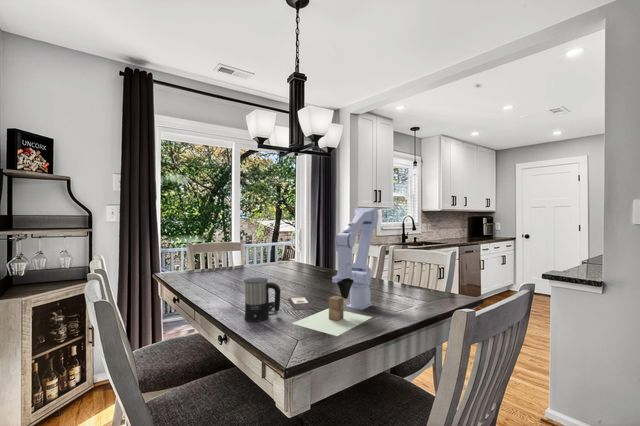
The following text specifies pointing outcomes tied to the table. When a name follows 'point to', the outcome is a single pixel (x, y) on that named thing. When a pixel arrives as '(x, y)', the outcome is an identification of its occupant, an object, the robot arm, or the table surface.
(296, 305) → the chocolate bar
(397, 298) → the table surface
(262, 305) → the milk frother
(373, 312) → the table surface
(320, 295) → the table surface
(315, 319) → the sage mat
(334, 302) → the walnut block
